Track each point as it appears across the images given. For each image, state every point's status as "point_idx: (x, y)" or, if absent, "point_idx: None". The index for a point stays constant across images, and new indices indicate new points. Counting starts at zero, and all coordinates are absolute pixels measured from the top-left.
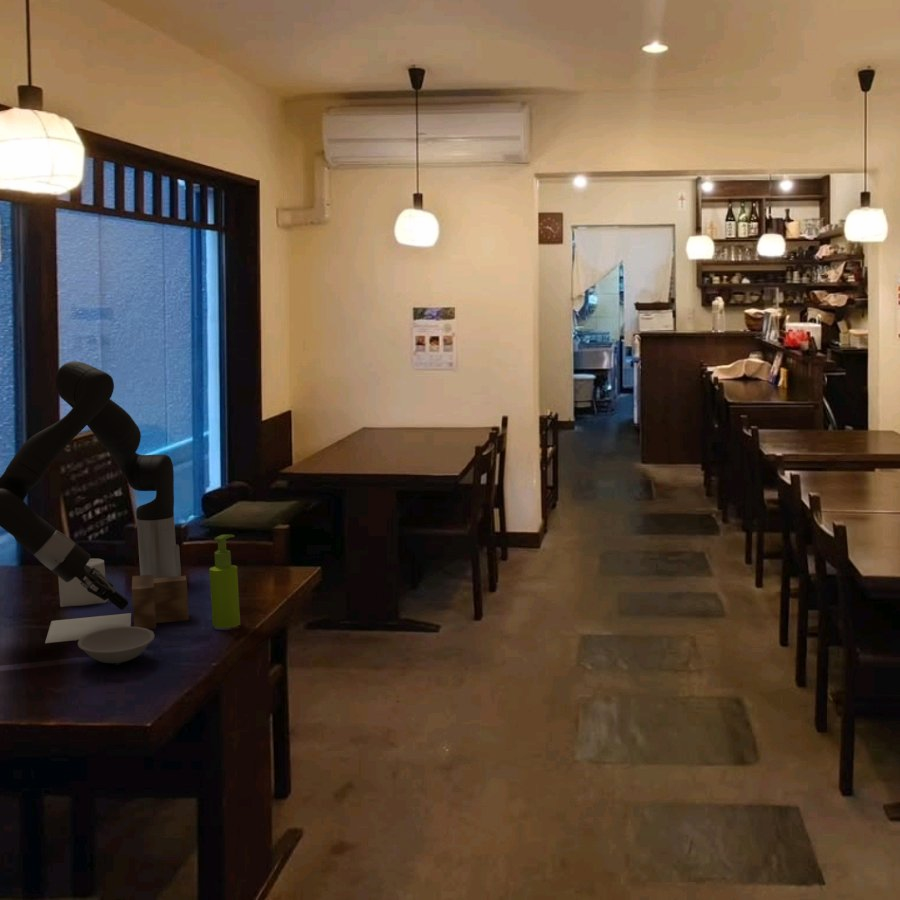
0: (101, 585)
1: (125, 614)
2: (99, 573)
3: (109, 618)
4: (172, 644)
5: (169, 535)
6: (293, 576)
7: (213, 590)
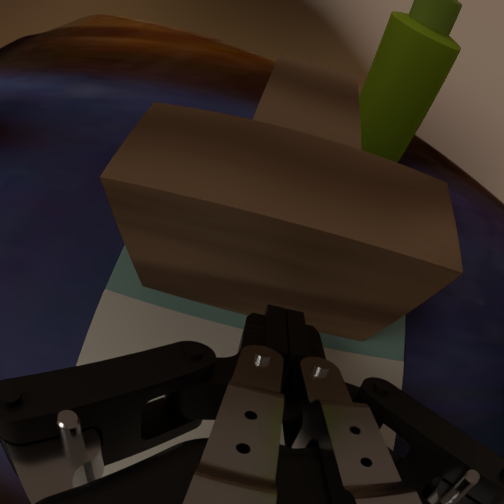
0: (482, 447)
1: (108, 311)
2: (220, 466)
3: None
4: (469, 275)
5: None
6: (101, 25)
7: (431, 92)
